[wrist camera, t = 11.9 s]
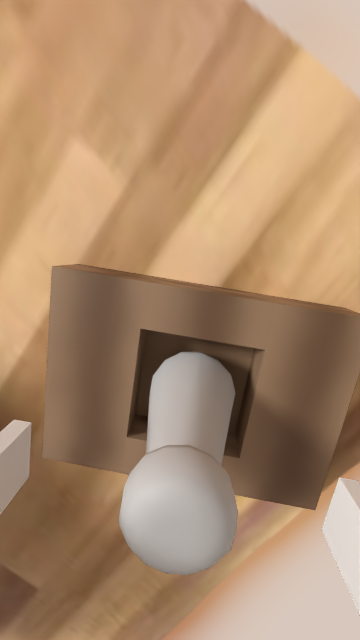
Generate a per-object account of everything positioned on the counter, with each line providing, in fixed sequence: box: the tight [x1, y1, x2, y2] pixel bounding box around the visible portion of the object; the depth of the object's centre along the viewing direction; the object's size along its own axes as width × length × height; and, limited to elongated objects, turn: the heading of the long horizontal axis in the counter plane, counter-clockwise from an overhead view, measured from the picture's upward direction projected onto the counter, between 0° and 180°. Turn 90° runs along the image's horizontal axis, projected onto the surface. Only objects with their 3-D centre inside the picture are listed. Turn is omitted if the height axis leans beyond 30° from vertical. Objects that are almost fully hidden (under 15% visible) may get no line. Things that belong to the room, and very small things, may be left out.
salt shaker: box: [119, 352, 238, 575], centre depth 16 cm, size 6×6×13 cm
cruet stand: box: [42, 264, 360, 510], centre depth 21 cm, size 20×14×4 cm
